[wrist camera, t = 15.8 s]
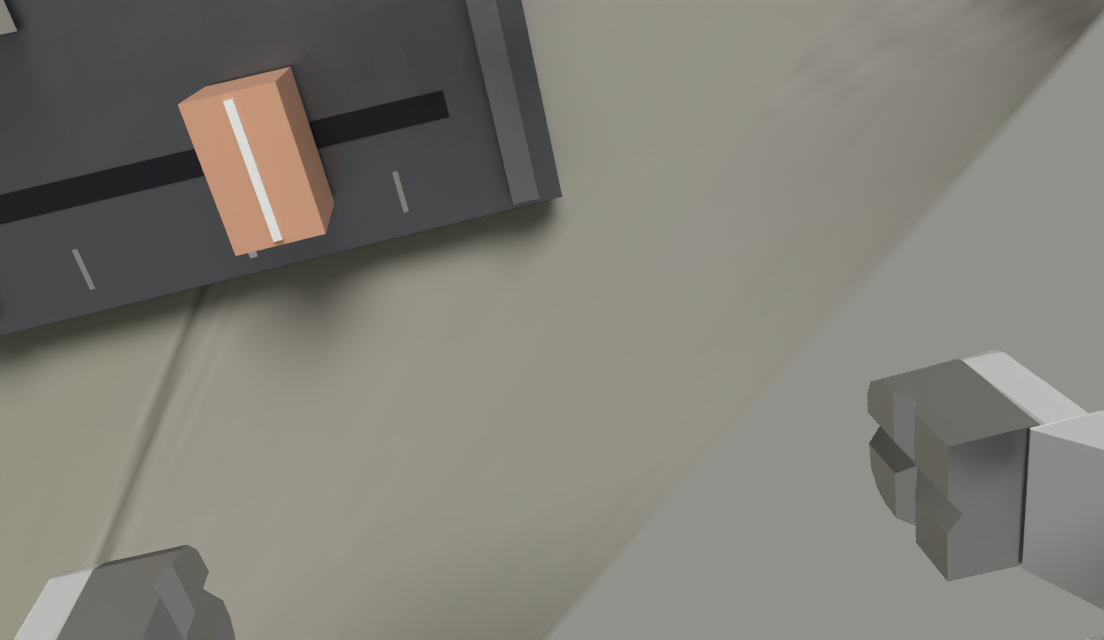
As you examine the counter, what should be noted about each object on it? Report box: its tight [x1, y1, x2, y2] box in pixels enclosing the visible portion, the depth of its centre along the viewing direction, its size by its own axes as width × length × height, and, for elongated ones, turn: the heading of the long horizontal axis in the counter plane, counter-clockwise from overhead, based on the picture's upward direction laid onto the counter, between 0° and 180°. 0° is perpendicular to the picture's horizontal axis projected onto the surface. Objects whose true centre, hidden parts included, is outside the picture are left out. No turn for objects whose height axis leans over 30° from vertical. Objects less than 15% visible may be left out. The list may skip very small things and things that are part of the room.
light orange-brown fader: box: [178, 67, 334, 256], centre depth 29 cm, size 3×5×4 cm, turn 12°
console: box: [0, 0, 562, 336], centre depth 30 cm, size 24×17×3 cm
